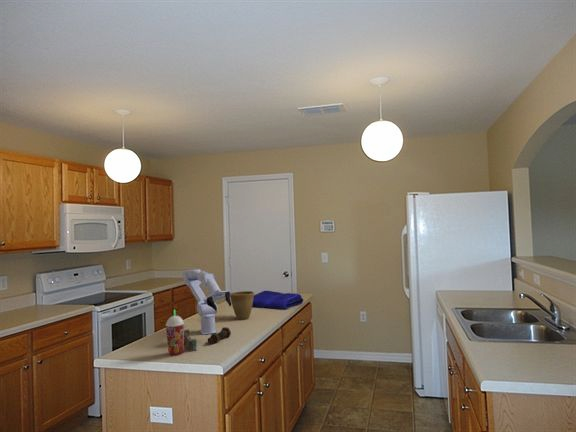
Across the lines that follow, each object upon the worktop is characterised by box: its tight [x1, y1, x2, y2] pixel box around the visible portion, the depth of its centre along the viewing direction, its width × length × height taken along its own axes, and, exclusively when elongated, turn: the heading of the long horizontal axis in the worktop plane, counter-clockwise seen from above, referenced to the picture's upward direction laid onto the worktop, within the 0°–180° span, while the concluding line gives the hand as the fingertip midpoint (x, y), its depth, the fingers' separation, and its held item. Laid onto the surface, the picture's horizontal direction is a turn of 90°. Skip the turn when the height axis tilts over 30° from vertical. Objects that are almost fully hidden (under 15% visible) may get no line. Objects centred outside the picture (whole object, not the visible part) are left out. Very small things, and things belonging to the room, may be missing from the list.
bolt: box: [207, 326, 232, 345], centre depth 201 cm, size 6×5×15 cm
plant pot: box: [230, 290, 255, 321], centre depth 249 cm, size 15×15×16 cm
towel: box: [252, 290, 304, 310], centre depth 289 cm, size 26×36×9 cm
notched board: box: [184, 329, 197, 352], centre depth 196 cm, size 22×3×5 cm, turn 23°
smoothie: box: [165, 309, 185, 356], centre depth 183 cm, size 8×8×20 cm
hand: (223, 307), depth 201 cm, fingers open, 7 cm apart
